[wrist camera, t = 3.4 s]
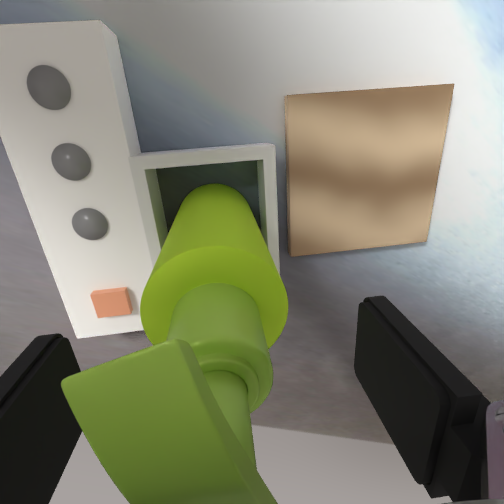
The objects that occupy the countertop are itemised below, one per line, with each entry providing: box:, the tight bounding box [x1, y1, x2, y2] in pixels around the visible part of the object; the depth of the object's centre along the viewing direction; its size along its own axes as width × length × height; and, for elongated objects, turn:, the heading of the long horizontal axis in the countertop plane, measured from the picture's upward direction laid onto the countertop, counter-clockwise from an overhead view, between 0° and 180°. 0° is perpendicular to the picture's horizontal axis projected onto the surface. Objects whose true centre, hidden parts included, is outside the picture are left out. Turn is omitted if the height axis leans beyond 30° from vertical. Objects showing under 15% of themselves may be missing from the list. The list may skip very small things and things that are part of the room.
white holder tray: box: [0, 20, 280, 339], centre depth 21 cm, size 20×16×4 cm
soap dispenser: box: [61, 184, 288, 504], centre depth 14 cm, size 6×7×20 cm
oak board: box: [285, 84, 454, 257], centre depth 23 cm, size 12×12×1 cm
